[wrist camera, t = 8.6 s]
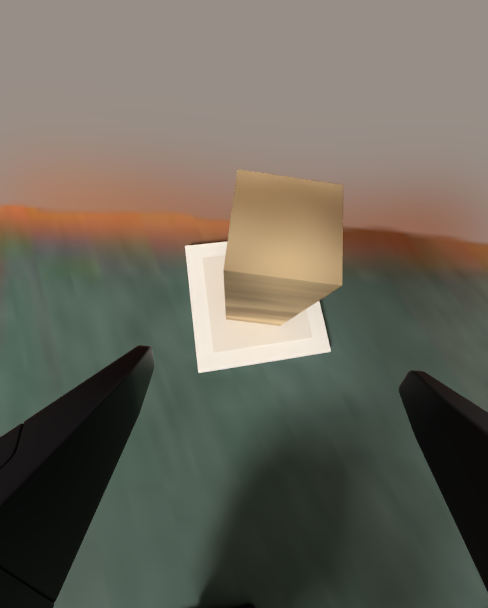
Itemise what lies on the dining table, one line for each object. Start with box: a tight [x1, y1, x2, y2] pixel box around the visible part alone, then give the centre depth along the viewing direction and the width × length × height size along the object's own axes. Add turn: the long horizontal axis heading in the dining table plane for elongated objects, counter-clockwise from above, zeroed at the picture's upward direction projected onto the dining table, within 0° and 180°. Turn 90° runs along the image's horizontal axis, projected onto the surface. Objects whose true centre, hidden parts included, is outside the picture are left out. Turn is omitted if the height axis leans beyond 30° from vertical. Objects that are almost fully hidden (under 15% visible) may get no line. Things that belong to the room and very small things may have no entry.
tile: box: [185, 242, 331, 373], centre depth 22 cm, size 12×12×1 cm
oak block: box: [223, 169, 343, 326], centre depth 16 cm, size 5×5×12 cm
